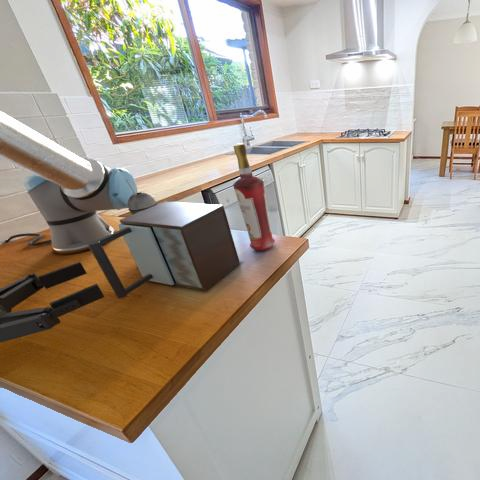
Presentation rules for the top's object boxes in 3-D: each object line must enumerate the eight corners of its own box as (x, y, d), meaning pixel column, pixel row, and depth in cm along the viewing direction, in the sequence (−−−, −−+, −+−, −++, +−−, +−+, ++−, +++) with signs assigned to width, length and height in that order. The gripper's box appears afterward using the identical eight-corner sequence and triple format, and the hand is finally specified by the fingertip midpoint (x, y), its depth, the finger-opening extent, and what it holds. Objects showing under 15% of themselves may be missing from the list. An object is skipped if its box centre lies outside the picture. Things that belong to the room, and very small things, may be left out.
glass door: (110, 300, 63) (76, 242, 56) (146, 278, 70) (120, 224, 63) (140, 307, 60) (108, 247, 53) (174, 283, 67) (150, 227, 60)
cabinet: (147, 280, 70) (119, 220, 63) (186, 255, 80) (166, 200, 73) (205, 291, 65) (181, 226, 57) (240, 263, 75) (223, 205, 67)
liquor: (244, 249, 81) (216, 146, 68) (265, 238, 86) (243, 141, 73) (260, 256, 77) (234, 148, 64) (281, 244, 82) (261, 142, 69)
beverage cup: (175, 238, 91) (151, 175, 81) (151, 248, 85) (122, 182, 76) (163, 234, 94) (138, 173, 85) (139, 243, 89) (110, 180, 80)
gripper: (-61, 330, 52) (85, 273, 66) (-73, 413, 37) (119, 318, 51) (-94, 296, 48) (68, 245, 62) (-121, 374, 34) (99, 284, 48)
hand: (91, 278), depth 57 cm, fingers open, 13 cm apart
